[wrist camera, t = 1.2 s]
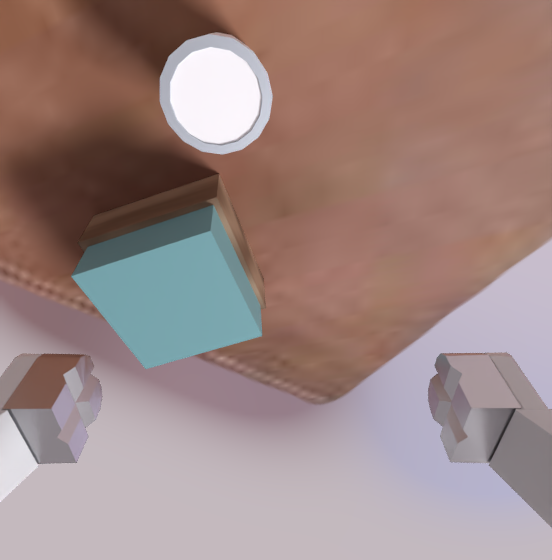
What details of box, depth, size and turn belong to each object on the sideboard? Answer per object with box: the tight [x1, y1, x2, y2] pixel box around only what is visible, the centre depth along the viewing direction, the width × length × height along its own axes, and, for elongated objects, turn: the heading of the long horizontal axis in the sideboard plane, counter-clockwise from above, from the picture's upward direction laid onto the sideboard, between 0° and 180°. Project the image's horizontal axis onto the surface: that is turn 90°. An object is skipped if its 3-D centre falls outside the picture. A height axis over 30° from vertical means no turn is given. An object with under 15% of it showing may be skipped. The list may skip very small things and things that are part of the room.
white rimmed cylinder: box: [160, 32, 273, 154], centre depth 28 cm, size 7×7×7 cm
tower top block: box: [71, 205, 262, 369], centre depth 34 cm, size 11×11×4 cm
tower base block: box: [78, 174, 266, 309], centre depth 38 cm, size 12×12×5 cm
